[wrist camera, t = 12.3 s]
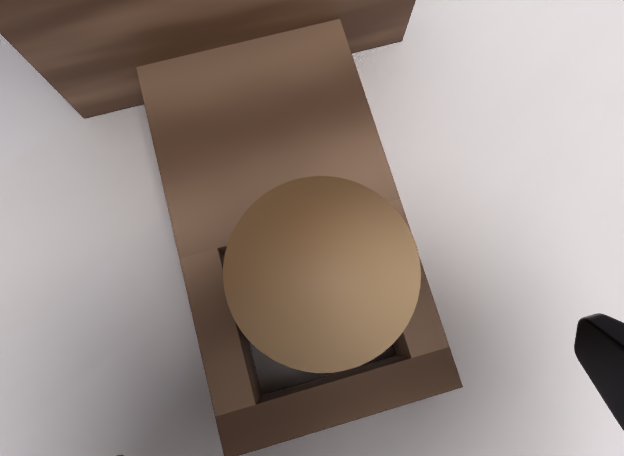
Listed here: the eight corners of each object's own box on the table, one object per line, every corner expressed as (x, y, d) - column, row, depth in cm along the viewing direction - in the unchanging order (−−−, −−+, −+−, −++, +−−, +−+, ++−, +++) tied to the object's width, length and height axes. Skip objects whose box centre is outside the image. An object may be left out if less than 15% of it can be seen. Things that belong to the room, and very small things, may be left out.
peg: (375, 310, 22) (462, 275, 10) (308, 374, 21) (317, 418, 9) (313, 244, 22) (326, 139, 10) (247, 304, 22) (181, 264, 10)
